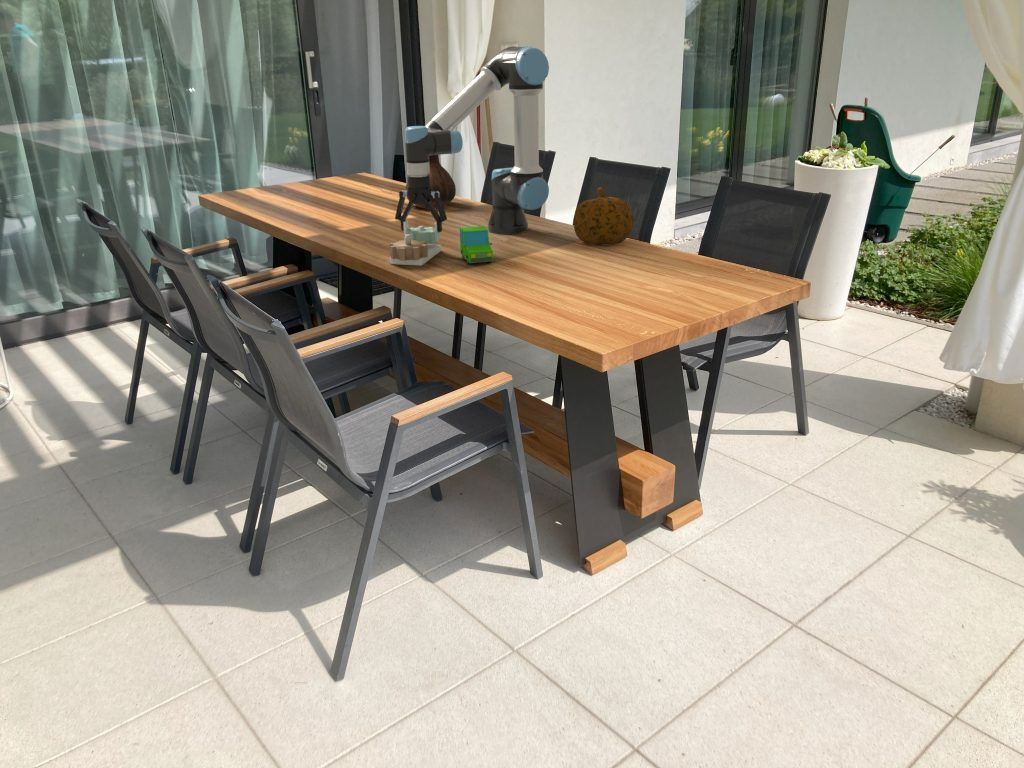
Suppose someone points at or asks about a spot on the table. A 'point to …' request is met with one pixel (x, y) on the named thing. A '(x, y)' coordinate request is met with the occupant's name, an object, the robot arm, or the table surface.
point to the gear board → (422, 260)
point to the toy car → (475, 245)
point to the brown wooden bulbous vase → (438, 183)
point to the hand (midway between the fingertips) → (422, 240)
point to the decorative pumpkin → (603, 220)
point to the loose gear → (422, 234)
